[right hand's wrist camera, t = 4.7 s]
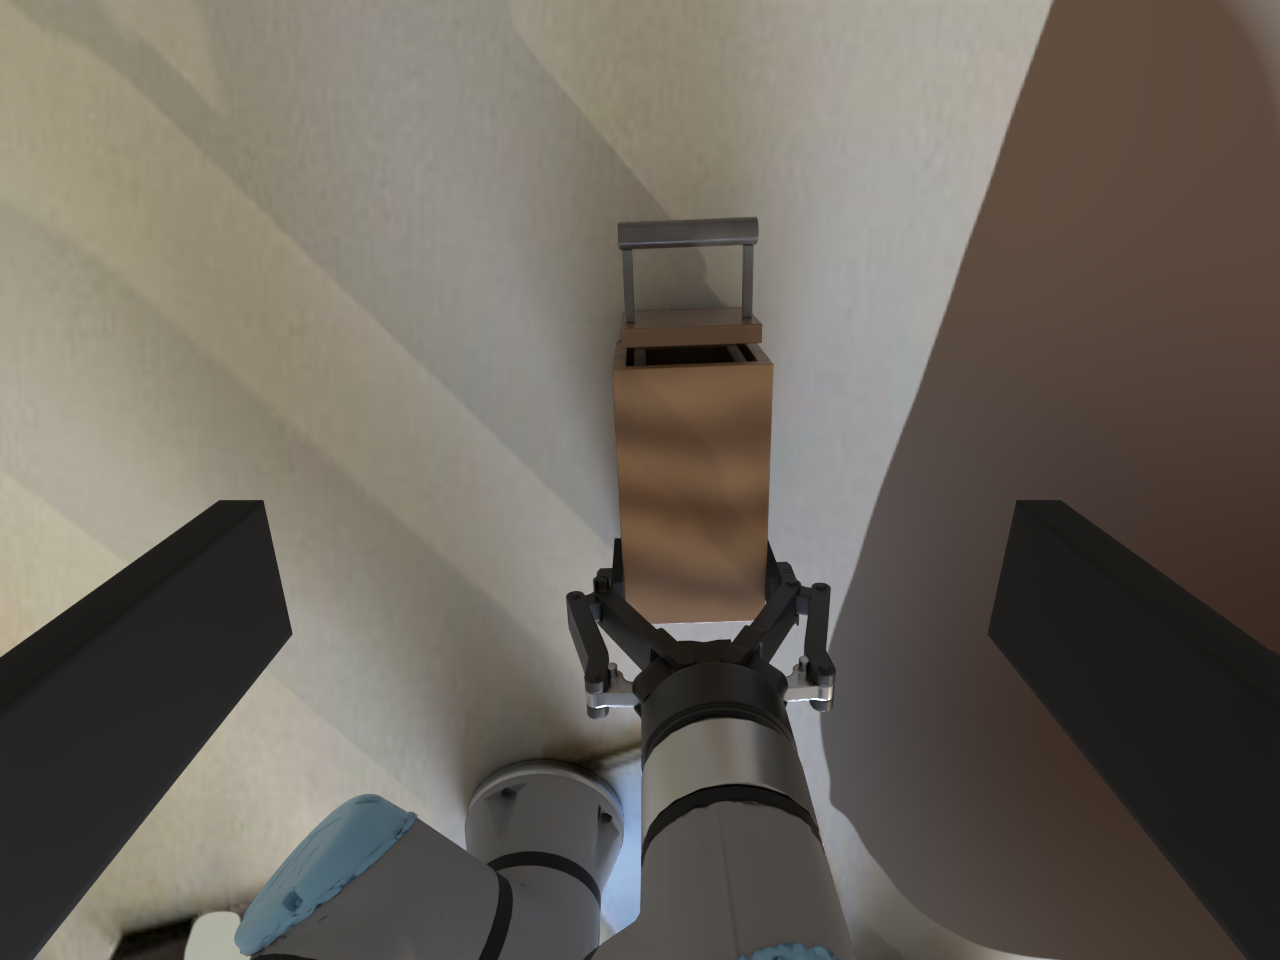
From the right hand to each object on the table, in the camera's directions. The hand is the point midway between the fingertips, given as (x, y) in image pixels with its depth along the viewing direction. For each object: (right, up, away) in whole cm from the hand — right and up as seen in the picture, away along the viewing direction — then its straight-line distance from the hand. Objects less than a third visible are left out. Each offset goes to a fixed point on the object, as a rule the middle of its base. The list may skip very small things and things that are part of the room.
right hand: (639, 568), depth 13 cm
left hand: (+4, -4, +41) cm, 42 cm away
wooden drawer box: (+4, +3, +43) cm, 43 cm away
